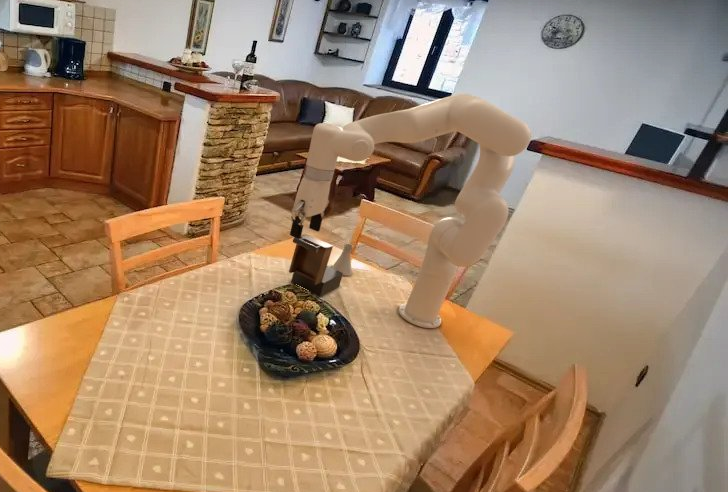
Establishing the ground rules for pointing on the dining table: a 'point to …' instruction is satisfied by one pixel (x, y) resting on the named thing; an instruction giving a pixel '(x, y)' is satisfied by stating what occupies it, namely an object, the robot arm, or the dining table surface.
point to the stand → (327, 284)
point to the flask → (344, 261)
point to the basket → (310, 258)
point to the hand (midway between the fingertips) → (304, 233)
